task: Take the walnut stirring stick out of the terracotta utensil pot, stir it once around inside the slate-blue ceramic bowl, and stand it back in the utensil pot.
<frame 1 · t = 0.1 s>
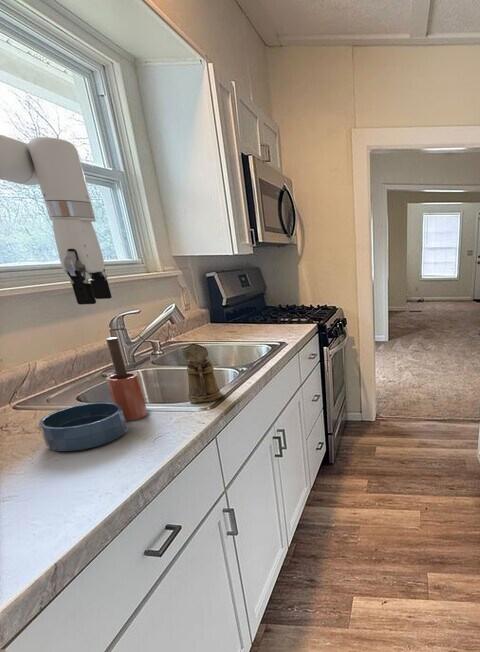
hand: (95, 301, 87), 30 cm above the countertop, tool pointing down, fingers open, 9 cm apart
stick: (132, 413, 105), point 1 cm above the countertop, touching holder
holder: (132, 416, 106), on the countertop
bowl: (89, 438, 93), on the countertop
wooden mug: (205, 401, 116), on the countertop
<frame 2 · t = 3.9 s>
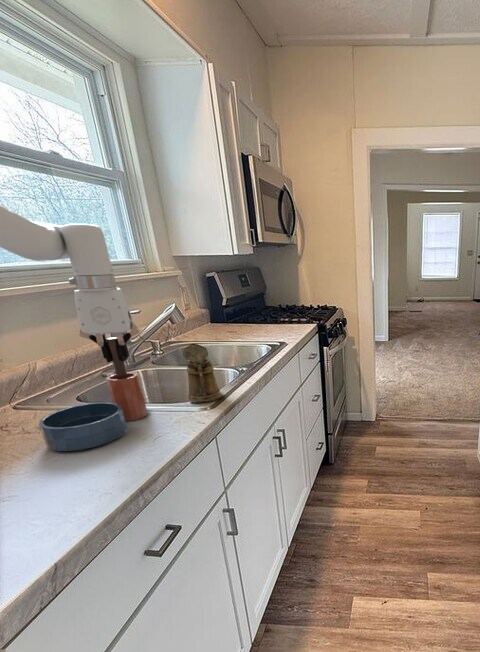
hand: (117, 360, 100), 15 cm above the countertop, tool pointing down, fingers closed on stick, 2 cm apart
stick: (132, 413, 105), point 1 cm above the countertop, touching gripper, holder
everything else where it was.
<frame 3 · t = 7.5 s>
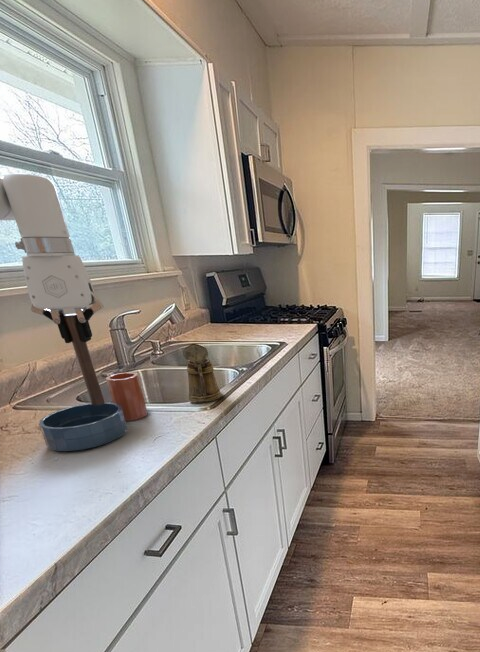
hand: (78, 340, 85), 23 cm above the countertop, tool pointing down, fingers closed on stick, 2 cm apart
stick: (98, 404, 91), point 8 cm above the countertop, touching gripper
everything else where it was.
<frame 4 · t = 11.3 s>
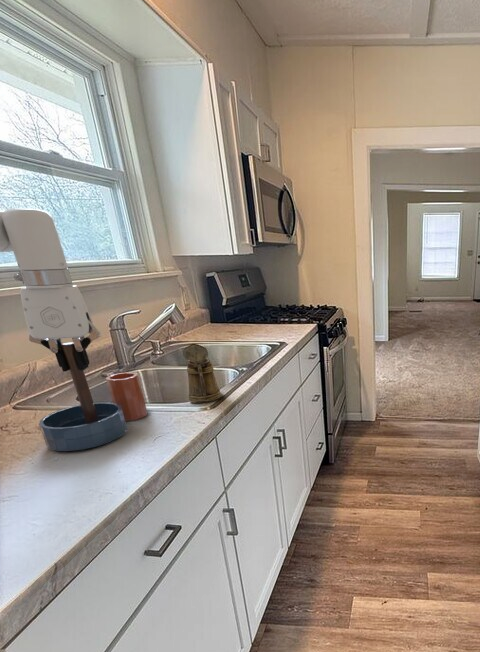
hand: (76, 368, 86), 17 cm above the countertop, tool pointing down, fingers closed on stick, 2 cm apart
stick: (95, 429, 92), point 2 cm above the countertop, touching gripper
everything else where it was.
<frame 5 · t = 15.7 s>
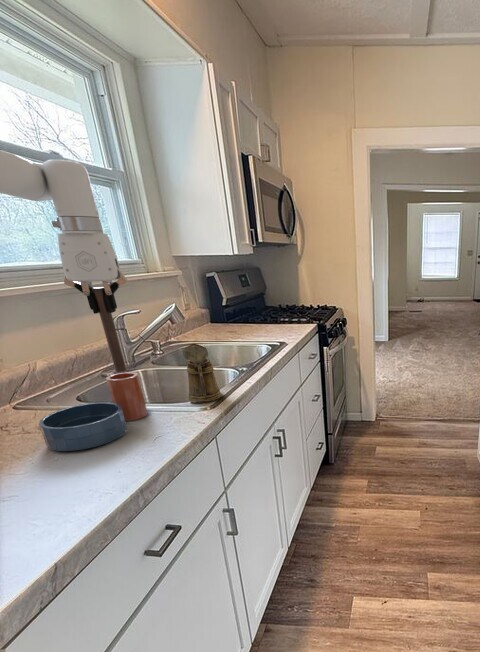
hand: (105, 311, 95), 27 cm above the countertop, tool pointing down, fingers closed on stick, 2 cm apart
stick: (121, 370, 101), point 12 cm above the countertop, touching gripper
everything else where it was.
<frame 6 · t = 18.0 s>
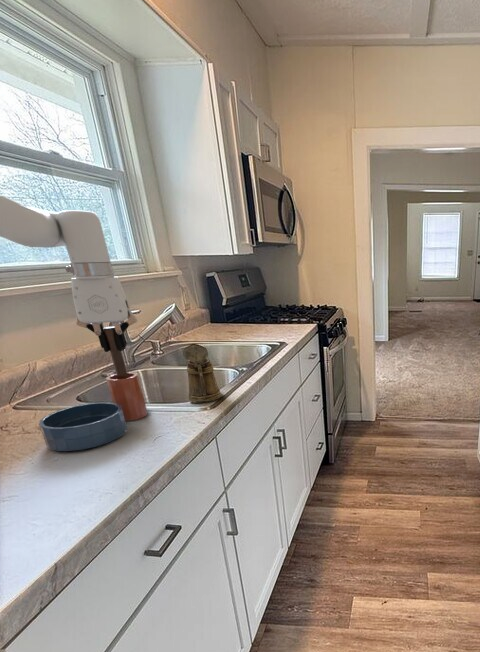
hand: (115, 349, 99), 18 cm above the countertop, tool pointing down, fingers closed on stick, 2 cm apart
stick: (130, 404, 104), point 3 cm above the countertop, touching gripper
everything else where it was.
when the fingers open (15 cm above the countertop, at t = 19.1 s): stick stays where it is, resting on holder.
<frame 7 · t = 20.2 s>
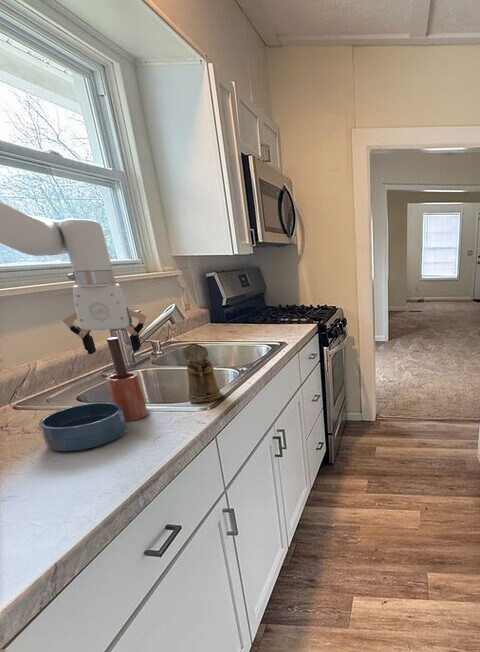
hand: (114, 351, 99), 17 cm above the countertop, tool pointing down, fingers open, 9 cm apart
stick: (132, 413, 105), point 1 cm above the countertop, touching holder
everything else where it was.
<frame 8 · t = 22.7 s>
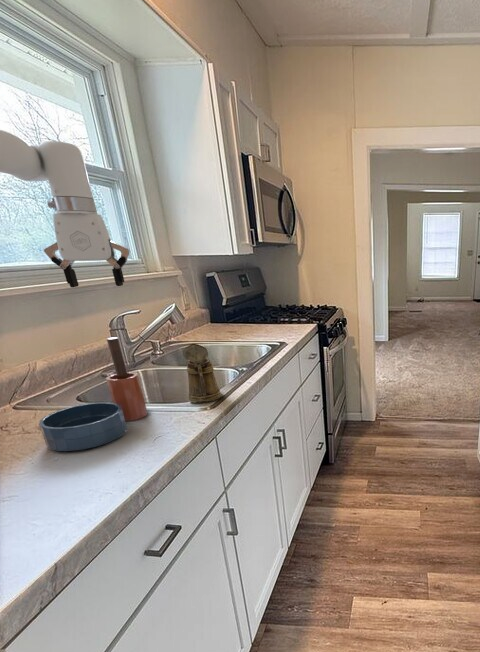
hand: (97, 286, 98), 32 cm above the countertop, tool pointing down, fingers open, 9 cm apart
nothing on the countertop moved.
at the end: stick 0.1 cm off-centre in the holder, point 0.6 cm above the holder's base; the gripper is holding nothing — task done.
